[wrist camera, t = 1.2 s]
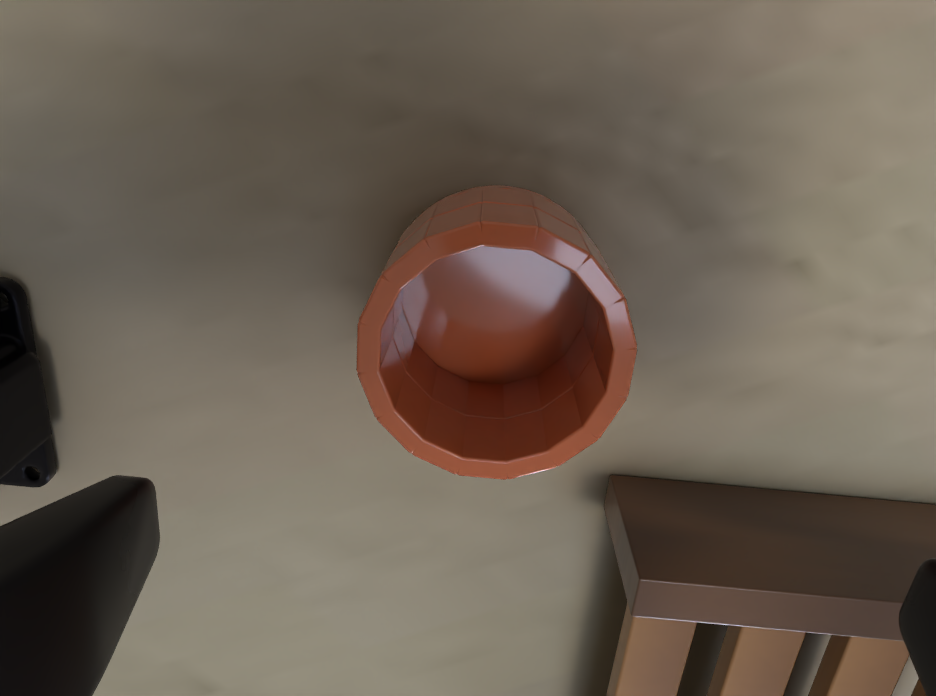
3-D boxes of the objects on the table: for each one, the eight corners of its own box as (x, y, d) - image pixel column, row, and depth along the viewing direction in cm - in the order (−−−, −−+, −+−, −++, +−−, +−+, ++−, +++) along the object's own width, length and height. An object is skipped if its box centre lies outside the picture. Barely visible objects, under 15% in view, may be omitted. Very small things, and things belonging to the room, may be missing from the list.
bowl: (383, 380, 19) (353, 466, 15) (392, 174, 17) (359, 210, 13) (585, 399, 19) (610, 490, 15) (620, 195, 17) (660, 237, 13)
